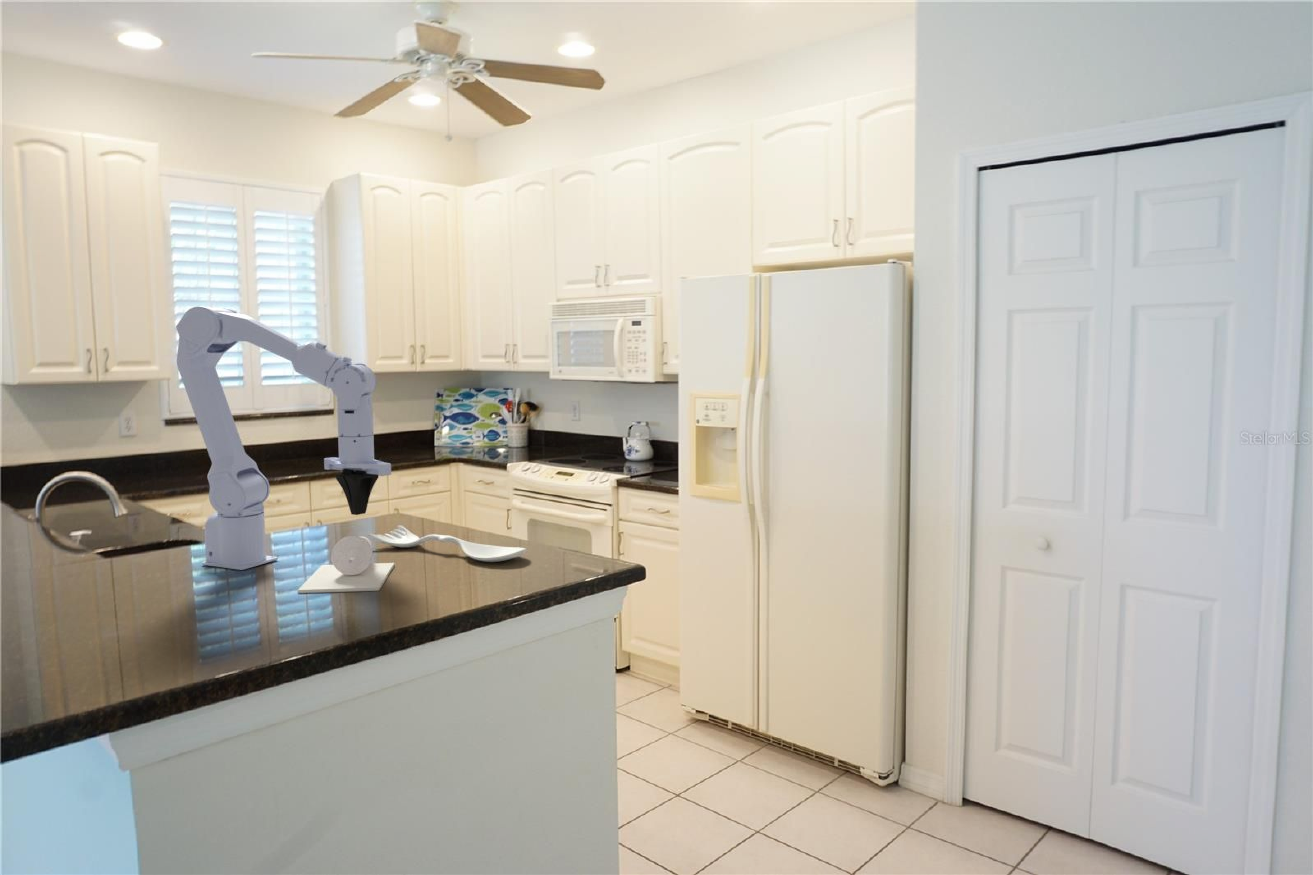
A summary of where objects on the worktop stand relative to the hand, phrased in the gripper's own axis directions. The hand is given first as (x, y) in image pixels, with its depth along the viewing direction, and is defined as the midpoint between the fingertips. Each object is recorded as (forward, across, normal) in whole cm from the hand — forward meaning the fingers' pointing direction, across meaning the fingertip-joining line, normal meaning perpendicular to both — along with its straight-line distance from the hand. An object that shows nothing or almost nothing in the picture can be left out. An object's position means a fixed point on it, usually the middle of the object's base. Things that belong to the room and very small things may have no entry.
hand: (358, 513), depth 148 cm
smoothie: (+6, 0, 0) cm, 6 cm away
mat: (+9, +6, -7) cm, 13 cm away
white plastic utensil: (+9, +7, +14) cm, 18 cm away
